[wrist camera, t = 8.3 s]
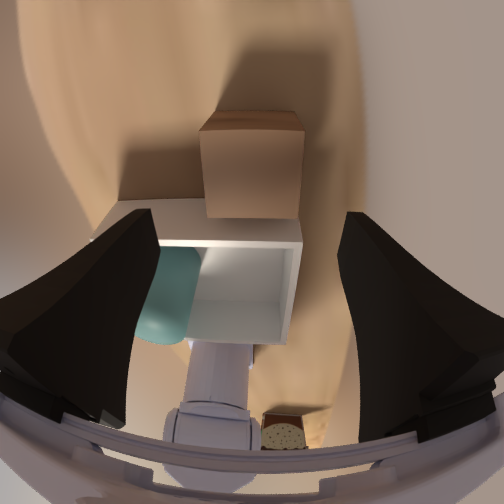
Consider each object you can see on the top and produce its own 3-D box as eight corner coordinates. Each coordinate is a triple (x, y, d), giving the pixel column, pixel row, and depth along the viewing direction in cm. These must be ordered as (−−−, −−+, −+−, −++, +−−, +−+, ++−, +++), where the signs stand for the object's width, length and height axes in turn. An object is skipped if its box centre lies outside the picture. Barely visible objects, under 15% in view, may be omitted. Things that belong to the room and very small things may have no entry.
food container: (248, 417, 57) (247, 455, 49) (258, 411, 53) (256, 453, 45) (295, 421, 59) (296, 457, 51) (307, 415, 55) (309, 453, 48)
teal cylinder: (155, 279, 25) (134, 341, 20) (139, 238, 22) (108, 302, 17) (206, 279, 25) (193, 346, 20) (195, 235, 22) (175, 305, 16)
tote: (283, 301, 27) (285, 344, 23) (149, 295, 28) (136, 334, 24) (295, 199, 20) (303, 242, 16) (117, 201, 20) (89, 239, 16)
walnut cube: (290, 180, 19) (297, 218, 15) (219, 179, 19) (207, 217, 15) (293, 111, 16) (305, 131, 12) (214, 111, 16) (198, 131, 12)
